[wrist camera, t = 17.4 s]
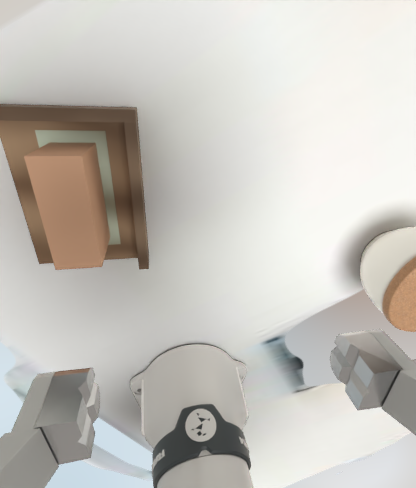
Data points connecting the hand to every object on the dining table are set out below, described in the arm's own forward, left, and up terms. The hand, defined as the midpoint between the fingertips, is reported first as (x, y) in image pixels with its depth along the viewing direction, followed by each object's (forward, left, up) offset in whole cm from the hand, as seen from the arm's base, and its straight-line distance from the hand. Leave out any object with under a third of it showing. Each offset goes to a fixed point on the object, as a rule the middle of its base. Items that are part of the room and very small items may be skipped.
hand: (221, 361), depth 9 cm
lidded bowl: (-12, -30, -24) cm, 40 cm away
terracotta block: (-2, +9, -23) cm, 25 cm away
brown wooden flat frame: (-2, +9, -23) cm, 25 cm away
